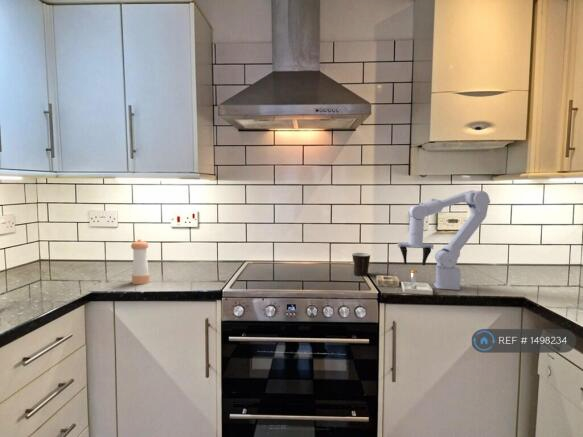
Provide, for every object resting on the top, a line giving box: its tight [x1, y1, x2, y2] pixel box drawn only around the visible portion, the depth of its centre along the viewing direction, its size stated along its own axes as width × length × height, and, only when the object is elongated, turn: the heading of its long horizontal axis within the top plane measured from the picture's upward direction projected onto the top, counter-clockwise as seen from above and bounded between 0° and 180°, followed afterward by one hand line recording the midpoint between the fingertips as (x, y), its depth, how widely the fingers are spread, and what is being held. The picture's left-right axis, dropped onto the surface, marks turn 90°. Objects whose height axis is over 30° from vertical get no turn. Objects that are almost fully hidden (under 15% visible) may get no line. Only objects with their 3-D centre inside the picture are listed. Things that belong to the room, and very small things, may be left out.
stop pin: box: [410, 269, 418, 289], centre depth 155 cm, size 2×2×8 cm
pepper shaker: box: [130, 238, 151, 285], centre depth 164 cm, size 7×7×19 cm
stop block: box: [376, 274, 400, 288], centre depth 165 cm, size 9×9×2 cm
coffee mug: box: [352, 252, 371, 277], centre depth 180 cm, size 12×9×10 cm
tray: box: [400, 281, 434, 296], centre depth 155 cm, size 11×11×2 cm
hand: (414, 264), depth 160 cm, fingers open, 7 cm apart
